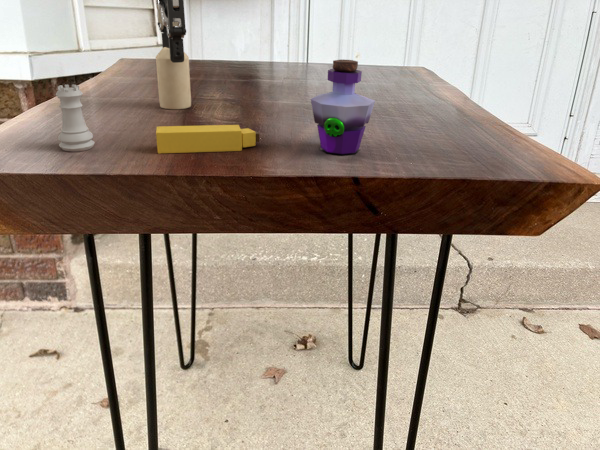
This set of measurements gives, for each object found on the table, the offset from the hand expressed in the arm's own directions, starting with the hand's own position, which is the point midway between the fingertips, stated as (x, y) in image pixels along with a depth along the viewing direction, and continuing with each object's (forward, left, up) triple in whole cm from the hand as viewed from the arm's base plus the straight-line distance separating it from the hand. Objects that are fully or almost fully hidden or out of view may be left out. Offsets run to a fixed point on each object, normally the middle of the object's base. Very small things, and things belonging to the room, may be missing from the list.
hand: (173, 58), depth 91 cm
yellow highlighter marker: (+4, -26, -8) cm, 28 cm away
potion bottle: (+22, -29, -8) cm, 37 cm away
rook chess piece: (-13, -24, -8) cm, 29 cm away
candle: (0, 0, -8) cm, 8 cm away
